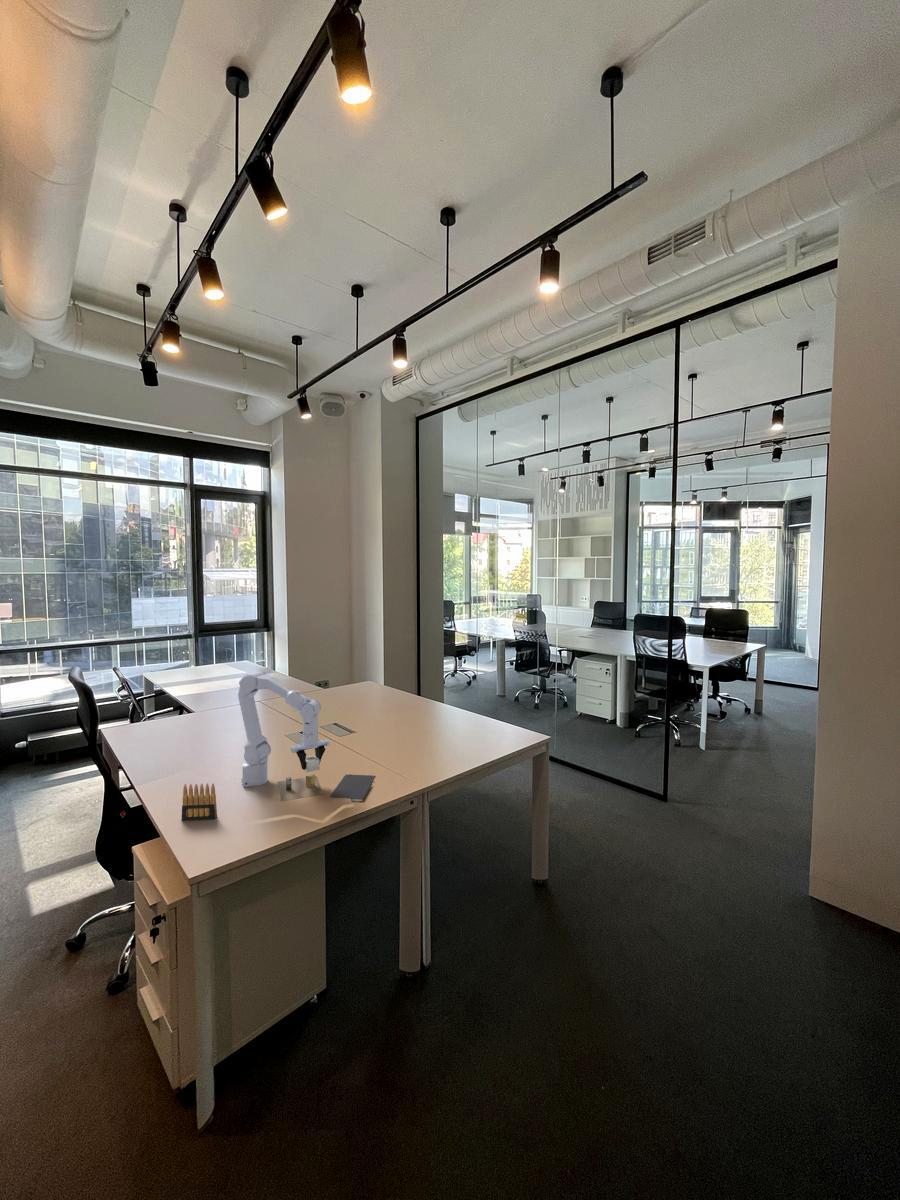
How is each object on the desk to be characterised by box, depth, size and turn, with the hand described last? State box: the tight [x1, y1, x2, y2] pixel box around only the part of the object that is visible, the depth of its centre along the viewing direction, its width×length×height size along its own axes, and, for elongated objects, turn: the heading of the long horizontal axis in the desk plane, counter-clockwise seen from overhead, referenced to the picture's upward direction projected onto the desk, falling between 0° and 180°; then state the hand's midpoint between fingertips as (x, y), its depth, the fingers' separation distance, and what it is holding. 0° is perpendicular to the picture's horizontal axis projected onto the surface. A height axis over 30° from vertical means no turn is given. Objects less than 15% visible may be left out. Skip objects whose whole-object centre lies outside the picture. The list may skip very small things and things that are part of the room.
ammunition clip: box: [180, 783, 218, 822], centre depth 162 cm, size 11×2×12 cm, turn 97°
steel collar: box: [304, 755, 320, 773], centre depth 186 cm, size 5×5×4 cm
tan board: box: [277, 775, 324, 802], centre depth 185 cm, size 15×18×1 cm
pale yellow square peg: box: [305, 773, 316, 788], centre depth 186 cm, size 2×2×4 cm
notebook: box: [329, 774, 377, 802], centre depth 187 cm, size 13×2×21 cm
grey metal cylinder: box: [285, 776, 293, 791], centre depth 183 cm, size 2×2×4 cm
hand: (310, 767), depth 186 cm, fingers closed on steel collar, 5 cm apart
